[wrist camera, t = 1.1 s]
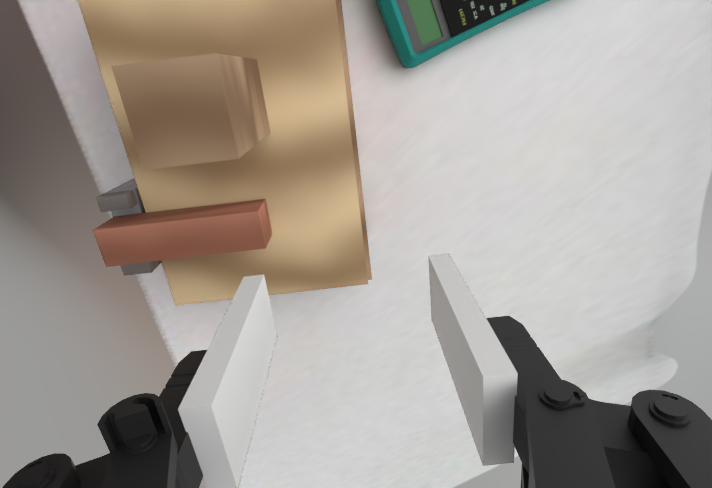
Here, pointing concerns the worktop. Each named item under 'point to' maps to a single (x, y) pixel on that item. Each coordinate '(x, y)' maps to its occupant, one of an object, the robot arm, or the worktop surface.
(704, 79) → the worktop surface
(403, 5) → the digital multimeter
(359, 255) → the wooden block with peg
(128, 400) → the robot arm
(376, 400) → the worktop surface
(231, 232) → the reddish brown rectangular block
